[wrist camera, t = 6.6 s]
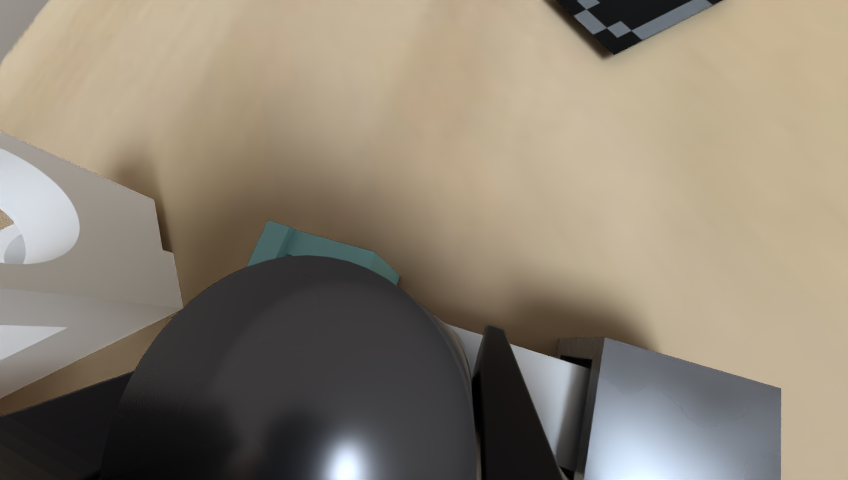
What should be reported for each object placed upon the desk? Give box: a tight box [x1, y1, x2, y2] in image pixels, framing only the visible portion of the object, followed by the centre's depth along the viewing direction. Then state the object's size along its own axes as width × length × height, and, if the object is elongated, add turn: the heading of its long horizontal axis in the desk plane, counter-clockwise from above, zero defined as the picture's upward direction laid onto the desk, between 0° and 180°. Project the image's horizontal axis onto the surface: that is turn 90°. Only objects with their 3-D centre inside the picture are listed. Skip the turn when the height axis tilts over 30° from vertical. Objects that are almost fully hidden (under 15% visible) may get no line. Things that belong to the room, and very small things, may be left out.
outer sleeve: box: [556, 337, 781, 480], centre depth 11 cm, size 4×5×5 cm
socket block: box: [246, 221, 400, 286], centre depth 13 cm, size 4×6×5 cm
